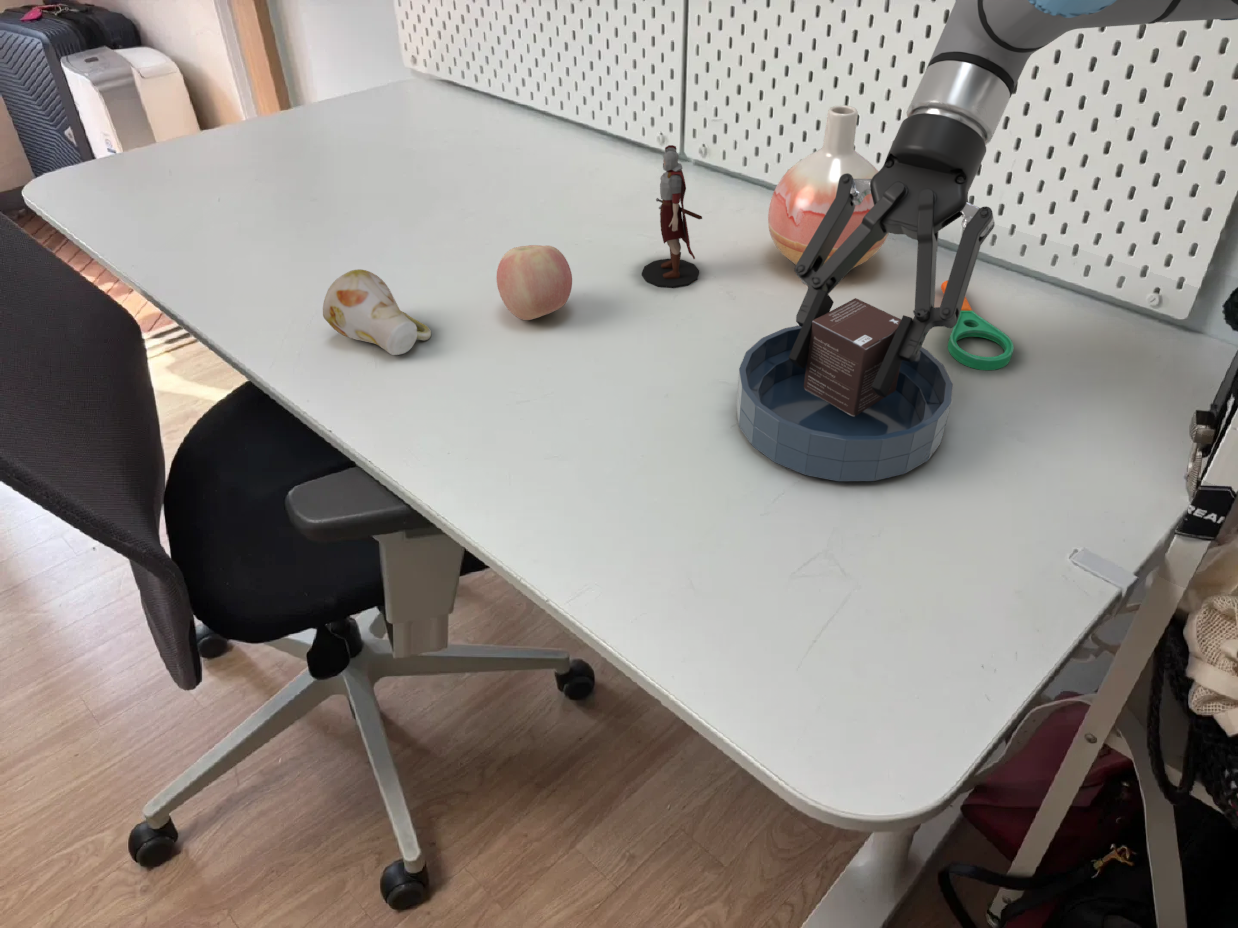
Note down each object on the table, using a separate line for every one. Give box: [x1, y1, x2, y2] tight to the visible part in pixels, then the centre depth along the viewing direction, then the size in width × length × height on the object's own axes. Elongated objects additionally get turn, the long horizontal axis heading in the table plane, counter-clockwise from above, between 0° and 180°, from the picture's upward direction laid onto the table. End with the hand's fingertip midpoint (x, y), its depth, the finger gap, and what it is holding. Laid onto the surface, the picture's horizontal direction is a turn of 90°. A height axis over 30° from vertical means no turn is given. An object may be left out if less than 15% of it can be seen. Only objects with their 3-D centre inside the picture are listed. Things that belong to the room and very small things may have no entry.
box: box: [804, 297, 902, 417], centre depth 82 cm, size 6×6×7 cm
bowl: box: [735, 324, 954, 482], centre depth 84 cm, size 18×18×5 cm
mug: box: [322, 269, 432, 356], centre depth 96 cm, size 8×10×10 cm
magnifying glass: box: [940, 280, 1015, 371], centre depth 96 cm, size 15×6×2 cm, turn 179°
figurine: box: [641, 144, 703, 289], centre depth 103 cm, size 7×7×15 cm
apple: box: [496, 244, 573, 321], centre depth 98 cm, size 8×8×8 cm
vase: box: [767, 104, 890, 270], centre depth 103 cm, size 14×14×18 cm
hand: (836, 377), depth 80 cm, fingers closed on box, 7 cm apart
